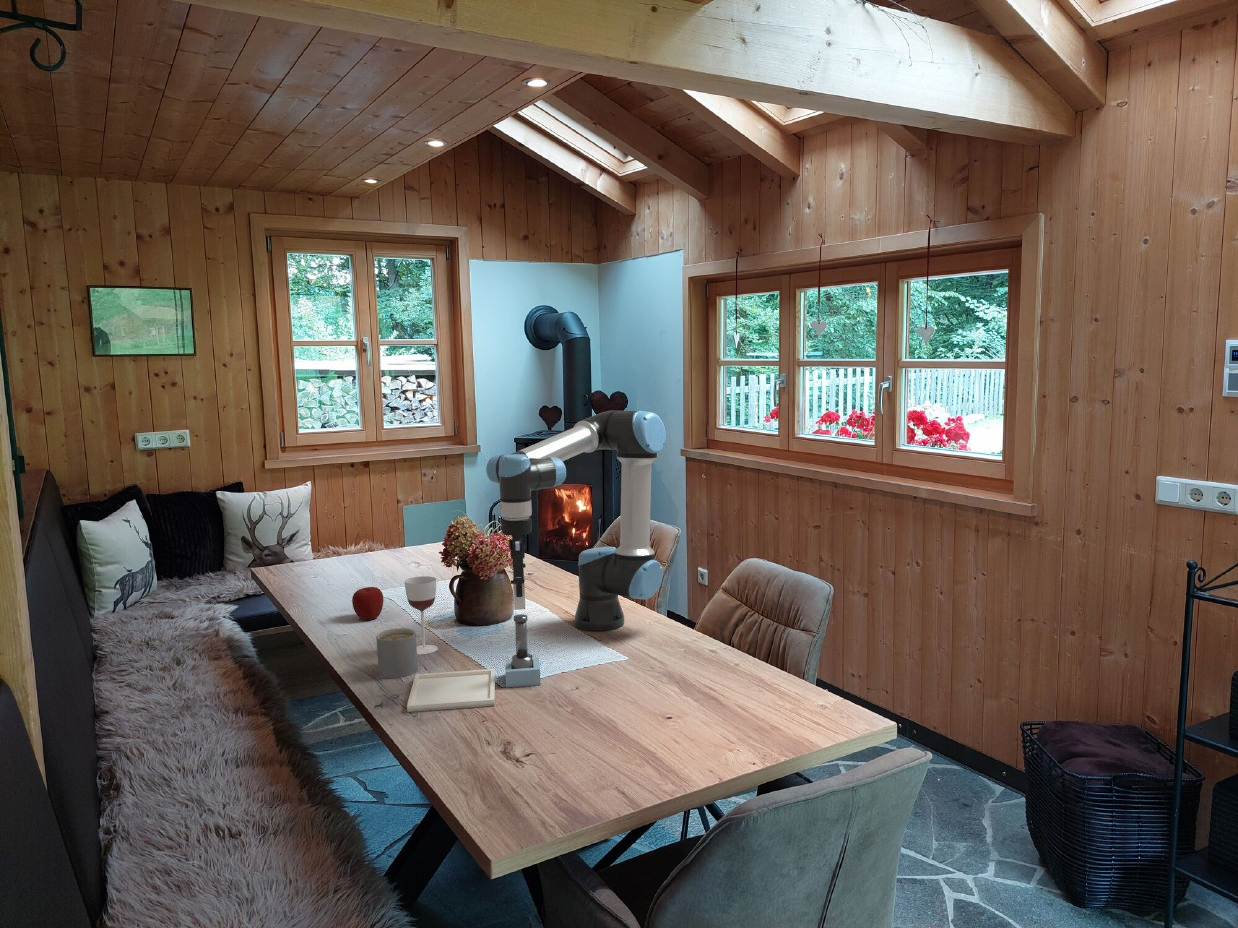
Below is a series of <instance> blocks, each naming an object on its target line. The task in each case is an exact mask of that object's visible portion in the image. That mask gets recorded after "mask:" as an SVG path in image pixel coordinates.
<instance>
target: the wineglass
mask: <svg viewBox="0 0 1238 928" xmlns="http://www.w3.org/2000/svg"><path fill="white" fill-rule="evenodd" d="M404 589H405V595H406V598H407V602H408V604H409V605H410V606H411V608H413V609H415V610H418V611H420V623H421V640H422V642H421V643H422V644H421V645H418V646H417V645H416V647H417V655H426V654H427V655H428V654H432V653H434V652H436V651H438V649H439V648H438V646H437V645H433V644H426V635H425V633H426V631H425V617H424V616H425V615H424V613H425V612H424V611H425V610H427V609H429V608H430V607H432V606H433V604H434V603H435V600H436V595H437V593H436V592H437V578H436V577H434V576H426V575H425V576H424V575H423V576H413V577H409V578H406V579H405V580H404Z"/></svg>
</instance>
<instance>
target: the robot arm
mask: <svg viewBox="0 0 1238 928" xmlns="http://www.w3.org/2000/svg"><path fill="white" fill-rule="evenodd" d="M666 439H667V432H666V428H665V424H664V422H663V420H662V419H661V417H660V416H659V415H658V414H656V413H655V412H652V411H644V410H617V409H615V410H614V409H612V410H607V411H602V412H600V413H598V414H594V415H592V416H589V417H586V418H585V419H582V420H580V421H578V422H576V423H575V424H574V425H573V428H572V427H571V428H570V429H567V430H565V431H562V432H560V433H558V434H555V435H553V436H551V437H549V438H546V439H544V440H541V441H539V442H537V443H535V444H532V445H530V446H528V447H525V448H522V449H520V450H517V451H516V452H512V453H510V454H505V455H504V454H500V455H498V454H497V455H493V456H491V457H490V458H489V460H488V461H487V464H486V475H487V477H488V479H489V480H490V481H491V482H492V483H495V484H499V494H500V495H499V497H500V499H499V500H500V504H498V506H497V508H498V509H499V510H500V516H501V518H502V519H500V526H501V528H500V531H501V534H502V535H504V536H511V539H509V540H508V543H509V545H508V546H509V550H510V559H511V560H512V561H511V562H512V579H511V580H510V585H513V586H512V587H513V610H514V611H515V610H517V611H518V610H519V611H520V610H526V590H525V582H526V581H525V574H524V573H525V572H524V568H526V563H525V562H524V559H525V558H526V555H525V553H526V552H525V549H526V539H525V538H524V539H523V535H529V534H531V533H532V532H533V525H532V522H533V521H532V520H533V519H532V518H531V516H532V515H533V514H532V512H533V509H532V492H533V491H537V490H538V491H539V490H544V489H553V488H555V487H558V486H560V485H562V484H563V483H564V482H565V481H566V478H567V468H566V465H565V463H564V461H565V462H566V460H569V459H570V458H573V457H575V456H576V457H577V455H580V454H582V453H586V454H587V453H590V454H591V453H593V452H595V451H599V450H601V451H602V450H609V451H610V450H611V451H612V450H613V451H616V459H617V460H618V461H619V462H620V463H621V475H620V476H621V479H620V480H621V481H620V484H621V485H620V486H621V487H620V488H621V489H620V533H619V535H620V537H619V546H618V547H617V548H616V547H615V546H600V547H593V548H588V549H586V550H582V551H581V552H580V553H579V555H578V564H577V568H578V569H577V570H578V588H579V601H578V604H577V607H576V611H575V614H574V626H575V627H576V628H578V629H580V630H583V631H589V632H590V631H592V632H601V631H611V630H612V631H613V630H616V629H618V628H621V627H623V626H624V625H625V614H624V611H623V608H622V606H621V603H620V599H619V596H621V597H627V598H631V599H633V600H637V599H638V600H648V599H650V598H652V597H653V596H654V595H655V594H656V593H657V591H658V589H659V588H660V586H661V583H662V581H663V574H664V571H663V567H662V565H661V563H660V562H659V561H658V560H657V559H655V555H656V554H655V551H654V549H653V548H652V547H651V546H650V544H651V543H650V537H651V535H650V534H651V501H652V500H651V497H652V496H651V494H652V465H653V463H654V462H655V461H656V460H657V459H658V454H659V453H660V452H661V451H662V450H663V448H664V446H665V445H666Z"/></svg>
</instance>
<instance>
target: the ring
mask: <svg viewBox="0 0 1238 928" xmlns="http://www.w3.org/2000/svg"><path fill="white" fill-rule="evenodd" d="M504 663H505V688H513V687H514V688H515V687H517V688H518V687H529V686H540V685H541V684H542V683H541V667H540V658H539V656H537V657H532V667H533V668H521V669H513V666H512V658H510V659H505V662H504Z"/></svg>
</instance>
